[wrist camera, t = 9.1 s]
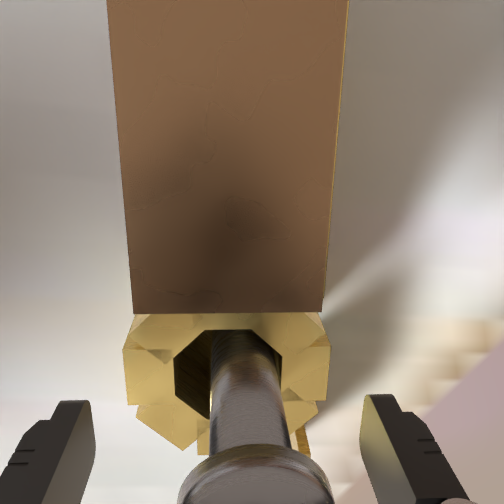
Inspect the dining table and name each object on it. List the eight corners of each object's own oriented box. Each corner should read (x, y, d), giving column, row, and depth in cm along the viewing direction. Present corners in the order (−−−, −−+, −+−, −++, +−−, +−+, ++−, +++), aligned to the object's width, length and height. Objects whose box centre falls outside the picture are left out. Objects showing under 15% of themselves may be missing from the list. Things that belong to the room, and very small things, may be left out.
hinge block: (291, 445, 24) (320, 609, 17) (162, 449, 24) (134, 619, 16) (320, -16, 16) (399, -89, 9) (130, -21, 16) (49, -103, 9)
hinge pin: (277, 258, 20) (349, 476, 9) (274, 328, 22) (334, 596, 10) (196, 259, 20) (168, 485, 9) (198, 330, 21) (176, 606, 10)
